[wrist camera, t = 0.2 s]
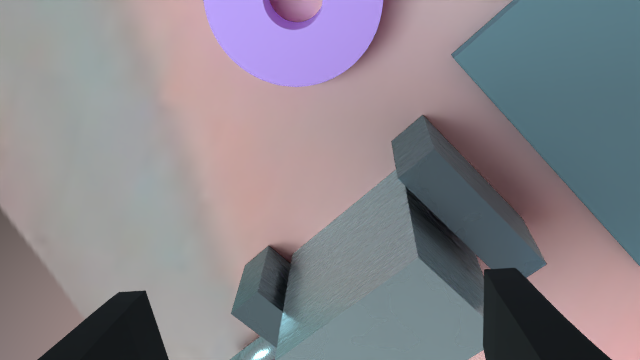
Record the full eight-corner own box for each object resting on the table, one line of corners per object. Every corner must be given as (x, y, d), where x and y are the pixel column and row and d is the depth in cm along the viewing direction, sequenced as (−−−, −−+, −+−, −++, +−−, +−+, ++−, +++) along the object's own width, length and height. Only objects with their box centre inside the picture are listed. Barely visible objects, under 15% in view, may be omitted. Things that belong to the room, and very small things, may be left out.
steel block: (466, 229, 21) (504, 336, 16) (358, 307, 24) (359, 425, 18) (400, 164, 20) (418, 257, 15) (292, 253, 22) (274, 362, 17)
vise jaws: (522, 218, 21) (546, 264, 18) (283, 384, 26) (276, 439, 23) (422, 114, 19) (433, 148, 17) (187, 314, 24) (167, 365, 22)
